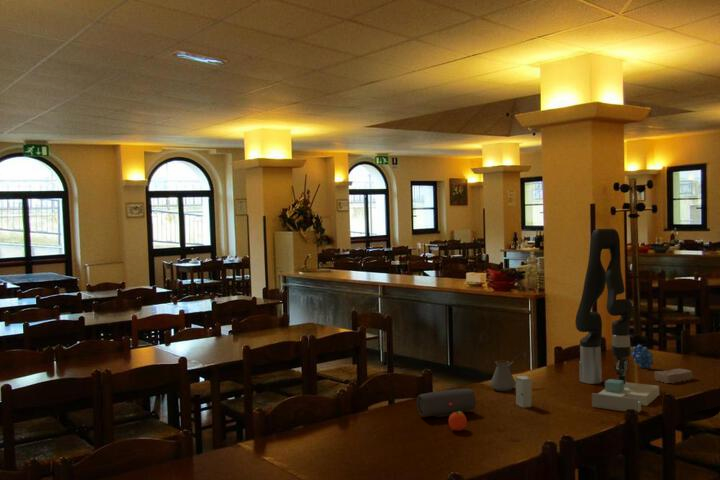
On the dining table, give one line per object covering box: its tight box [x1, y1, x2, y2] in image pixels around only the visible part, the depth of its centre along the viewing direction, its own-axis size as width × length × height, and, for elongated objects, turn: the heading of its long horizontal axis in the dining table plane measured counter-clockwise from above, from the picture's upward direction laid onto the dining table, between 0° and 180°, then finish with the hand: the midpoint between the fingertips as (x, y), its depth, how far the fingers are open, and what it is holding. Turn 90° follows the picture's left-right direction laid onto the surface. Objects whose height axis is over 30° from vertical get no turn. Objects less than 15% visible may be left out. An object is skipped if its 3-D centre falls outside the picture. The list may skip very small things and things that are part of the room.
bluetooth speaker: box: [416, 388, 477, 418], centre depth 268 cm, size 23×9×10 cm, turn 105°
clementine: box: [448, 411, 468, 432], centre depth 249 cm, size 8×7×7 cm
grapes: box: [630, 344, 655, 369], centre depth 333 cm, size 12×7×12 cm, turn 36°
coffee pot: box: [490, 351, 527, 392], centre depth 307 cm, size 21×12×15 cm, turn 125°
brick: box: [654, 368, 694, 384], centre depth 308 cm, size 17×8×5 cm, turn 114°
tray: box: [591, 381, 660, 414], centre depth 277 cm, size 18×31×6 cm, turn 141°
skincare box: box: [515, 375, 532, 409], centre depth 277 cm, size 6×4×12 cm
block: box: [604, 378, 624, 393], centre depth 280 cm, size 6×6×4 cm
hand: (622, 384), depth 287 cm, fingers closed
